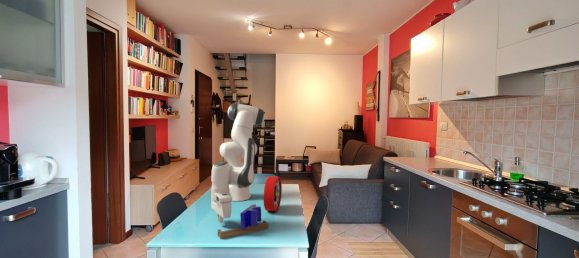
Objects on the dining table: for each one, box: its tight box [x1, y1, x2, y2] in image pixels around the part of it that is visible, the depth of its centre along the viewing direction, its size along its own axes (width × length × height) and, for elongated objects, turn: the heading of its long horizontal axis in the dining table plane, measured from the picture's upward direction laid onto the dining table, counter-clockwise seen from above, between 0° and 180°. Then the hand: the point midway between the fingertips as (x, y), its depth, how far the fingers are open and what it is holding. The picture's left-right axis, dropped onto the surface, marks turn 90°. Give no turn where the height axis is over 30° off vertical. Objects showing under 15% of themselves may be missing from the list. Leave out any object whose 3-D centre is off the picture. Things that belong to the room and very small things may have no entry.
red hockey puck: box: [262, 175, 283, 212], centre depth 167 cm, size 20×6×20 cm, turn 168°
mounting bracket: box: [239, 204, 263, 229], centre depth 138 cm, size 18×7×6 cm
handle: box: [217, 219, 269, 240], centre depth 133 cm, size 4×24×4 cm, turn 122°
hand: (220, 221), depth 141 cm, fingers closed
